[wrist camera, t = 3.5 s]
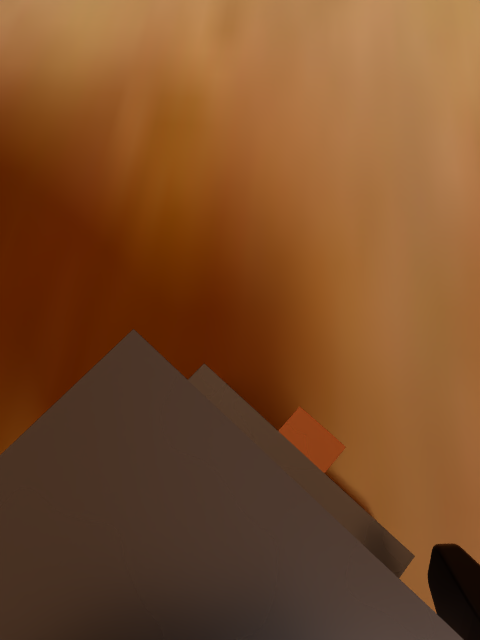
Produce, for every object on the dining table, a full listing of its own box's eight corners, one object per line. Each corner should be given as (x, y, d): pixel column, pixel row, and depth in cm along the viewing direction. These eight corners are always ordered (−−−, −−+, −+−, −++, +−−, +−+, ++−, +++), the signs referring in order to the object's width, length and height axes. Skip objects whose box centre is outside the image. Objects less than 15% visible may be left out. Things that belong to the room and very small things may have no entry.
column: (316, 539, 15) (526, 690, 4) (222, 658, 14) (80, 1441, 2) (217, 443, 16) (133, 322, 5) (124, 547, 15) (-287, 719, 4)
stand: (389, 524, 16) (461, 540, 11) (226, 740, 14) (210, 904, 9) (225, 375, 18) (214, 323, 13) (63, 546, 16) (-37, 574, 11)
